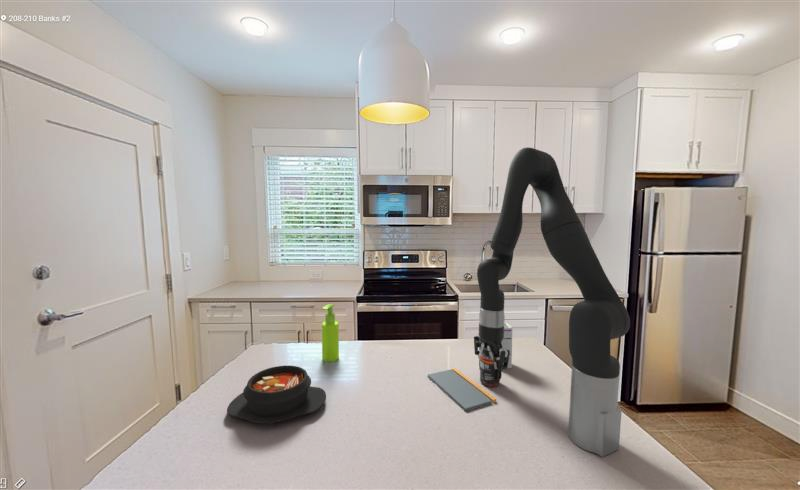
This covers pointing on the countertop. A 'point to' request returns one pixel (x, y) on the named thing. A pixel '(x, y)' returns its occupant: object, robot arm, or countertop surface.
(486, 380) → the supplement bottle
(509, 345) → the syrup box
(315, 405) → the casserole
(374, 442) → the countertop surface
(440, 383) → the grey board
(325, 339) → the soap dispenser
